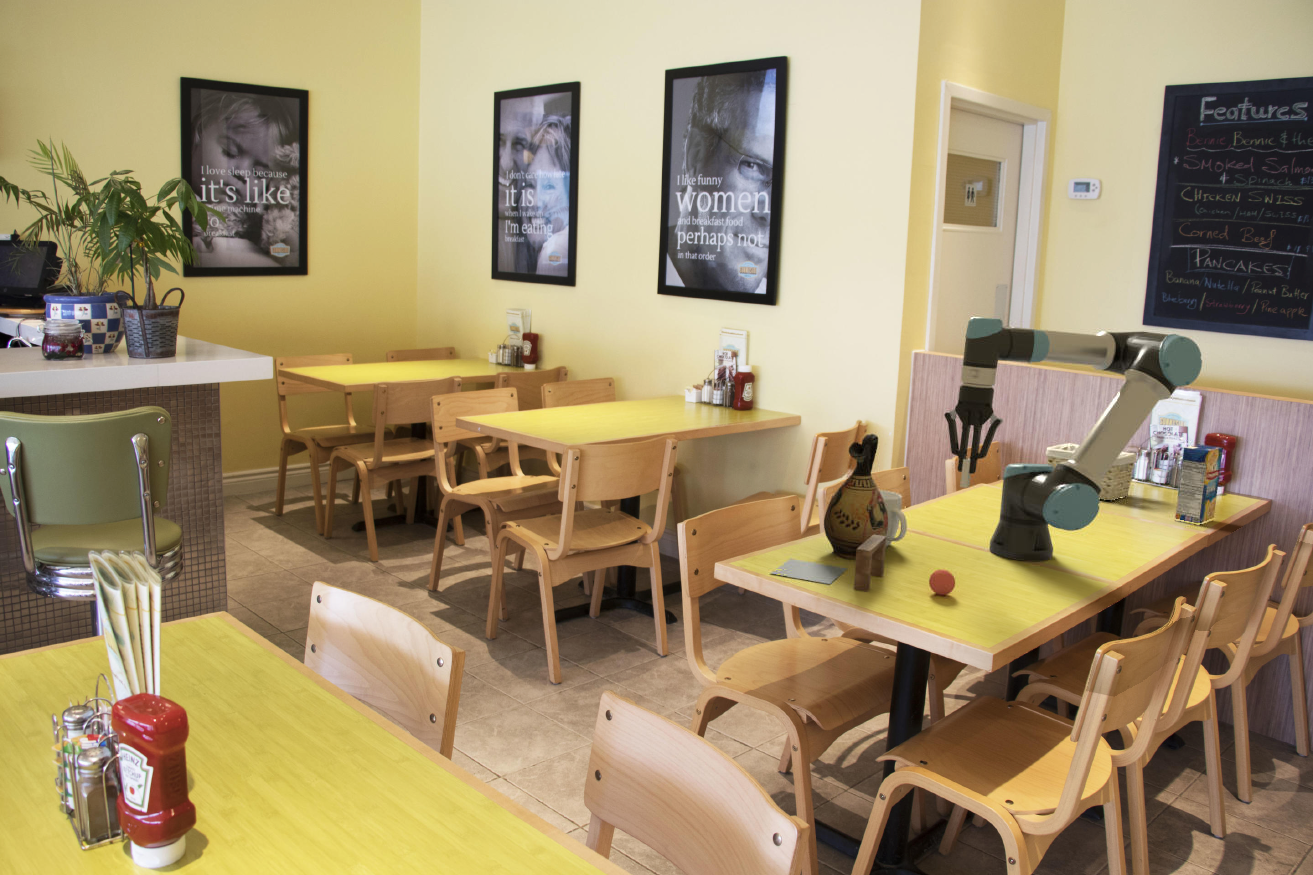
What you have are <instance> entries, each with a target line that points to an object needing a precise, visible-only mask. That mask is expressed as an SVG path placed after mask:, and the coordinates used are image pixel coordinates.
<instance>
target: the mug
mask: <svg viewBox="0 0 1313 875" xmlns="http://www.w3.org/2000/svg"><path fill="white" fill-rule="evenodd" d="M879 492H880V493H881V496H882V498H883V500H884V502H885V505H886V509H887V513H888V530H887V534H886V547H888V546H890V545H891V544H892V542H899V541H901V540H903V539H904V538H905V536H906V534H907V529H908V524H907V522H908V521H907V518H906V516H905V513H904V512H903V511H902V498H903V497H902V495H901V494H900V493H897V492H893V491H889V490H882V489H879ZM899 525H900V526H899ZM899 527H900V530H899V534H898V536H897V537H896V534H897V533H898V529H899Z"/></svg>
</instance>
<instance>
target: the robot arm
mask: <svg viewBox="0 0 1313 875" xmlns="http://www.w3.org/2000/svg"><path fill="white" fill-rule="evenodd" d="M1003 324H1004V323H1003V320H1002V319H1001V318H994V317H993V318H992V317H982V316H981V317H979V316H973V317H971V318H970V319H969V320H968V323H967V328H966V333H965V335H964V336H965V343H964V351H963V360H962V365H961V375H960V382H961V383H962V384H961V385H960V386H959V391H958V399H957V404H956V405H955V407H954V409H952V410H950V411H947V412H945V413H944V418H945V420H946V422H947V425H948V426H947V427H948V433H949V434H948V435H949V441H950V442H949V443H950V450H951V454H952V455H955V456H957V457H958V465H957V471H958V472H959V473H961V476H960V484H959V487H960V488H965V489H967V488H969V487H970V484H971V477H972V476H971V475H972V474H975V473H976V471H977V464H978V460H980V459H984V458H986V457H987V455H988V453H989V449H990V447H991V444H992V442H993V439H994V436H995V434H996V432H997V429H998V428H999V427H1000V425H1002V423H1003V422H1004V421H1003V419H1002V418H1000V417H998V416H997V415H996V414H994V412H995V411H994V409H993V403H994V402H993V400H994V394H995V389H994V387H993V386H995V385H996V377H997V371H998V370H997V369H998V362H999V361H1005V362H1019V363H1029V364H1031V363H1040V362H1051V363H1060V364H1061V363H1063V364H1070V365H1071V364H1073V365H1082V366H1091V367H1092V368H1093V369H1095V370H1097V371H1104V372H1109V373H1113V374H1114V373H1115V374H1119V375H1122V376H1124V377H1125V382H1124V384H1123V385H1122V386H1121V388H1119V390H1118V392H1117V393H1116V395H1114V397H1113V399H1112V400H1110V403H1109V404H1108V406H1106V408H1105V409H1104V411H1103V412H1102V414H1101V415H1100V417H1099V418H1098V419H1097V420H1096V422H1095V423H1094V425H1093V426H1092V427H1091V429H1090V430H1089V432H1087V434H1086V436H1085V437H1084V438H1083V440H1082V441H1081V443H1080V444H1078V445H1079V447H1078V448H1077V449H1076V451H1075V452H1074V453H1073V455H1072V456H1071V457H1070V459H1069V460H1068V461H1065V462H1059V463H1058V464H1057V465H1056V467H1055V468H1054V467H1053V466H1052V465H1047V463H1046V464H1043V463H1022V462H1021V463H1019V462H1018V463H1009V464H1008V465H1006V466H1005V469H1004V472H1003V477H1002V481H1003V482H1002V491H1001V502H1000V513H999V520H998V523H997V525H996V528H995V530H994V532H993V534H992V536H991V538H990V542H989V551H990V552H991V553H993V554H994V555H997V556H1000V557H1004V558H1006V559H1012V560H1019V561H1027V562H1043V561H1048V560H1051V559H1053V554H1054V546H1053V542H1052V538H1051V534H1050V533H1051V532H1050V529H1049V525H1050V526H1051V527H1053V528H1055V529H1060V530H1063V531H1068V532H1069V531H1070V532H1071V531H1073V532H1074V531H1078V530H1081V529H1083V528H1086V527H1088V526H1089V525H1090V524H1092V522H1093V521H1094V520H1095V519H1096V518H1097V516H1098V513H1099V512H1100V505H1099V504H1100V503H1101V502H1100V501H1101V500H1100V499H1099V496H1098V495H1099V494H1100V493H1101V491H1102V487H1101V480H1102V478H1103V477H1104V475H1105V474H1106V473H1107V471H1108V470H1109V469H1110V467H1111V466H1112V464H1113V463H1114V462H1115V460H1116V459H1117V458H1118V456H1119V455H1120V453H1121V452H1124V450H1125V448H1126V447H1127V445H1128V444H1129V443H1130V442H1131V440H1132V438H1133V437H1134V436H1135V434H1136V433H1137V431H1139V429H1140V427H1142V425H1143V423H1144V421H1145V420H1146V419H1147V418H1148V417H1149V415H1150V414H1151V412H1152V411H1153V409H1154V408H1155V407H1156V406H1157V404H1158V403H1159V401H1163V400H1168V399H1170V398H1171V396H1172V395H1173V393H1174V392H1175V391H1176V389H1177V388H1181V387H1186V386H1189V385H1191V384H1192V383H1194V381H1196V380H1197V378H1198V377H1199V375H1200V373H1201V371H1202V367H1203V360H1202V352H1201V350H1200V347H1199V346H1198V345H1197V343H1196V342H1195V341H1194V340H1193V339H1191V338H1190V337H1188V336H1187V337H1186V336H1182V335H1179V334H1176V333H1172V334H1167V333H1159V332H1150V331H1124V332H1123V331H1122V332H1120V331H1119V332H1117V331H1116V332H1111V331H1110V332H1109V331H1101V332H1098V333H1097V334H1089V333H1078V332H1068V331H1060V330H1059V331H1057V330H1049V329H1047V330H1046V329H1037V328H1027V327H1015V326H1005V325H1003ZM957 416H958V418H959V421H960V422H961V435H960V436H961V437H960V444H959V436H958V429H957V428H958V427H957V421H956V419H957ZM988 420H989V424H990V426H989V428H988V430H987V432H986V436H985V438H984V440H983V442H982V446H981V448H980V445H981V444H980V443H981V437H982V436H981V434H982V430H983V425H985V424H986V422H988ZM971 426H972V427H971ZM971 428H972V430H973V431H972V440H971V446H970V447H971V449H970V456H969V457H967V456H968V449H969V448H968V447H969V439H970V432H971Z"/></svg>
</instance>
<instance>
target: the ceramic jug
mask: <svg viewBox="0 0 1313 875" xmlns="http://www.w3.org/2000/svg"><path fill="white" fill-rule="evenodd" d="M878 445H879V437H878V436H877V435H876V434H874V433H871V434H866V435H865V436H864V437H863V438H862V441H861V444H860V442H857V441H856V442H855V441H854V442H853V443H851V444H850V446H849V448H848V454H849V455H850V457H852V458H853V459H854V460H855V461H856V466H855V467H854V469H853V472H852V473H851V474H850V476H848V477H847V478H846V479H845V481H844V482H843V483H842V485H840V487H839V488H838V489H837V490H836V491H835V493H834V495H833V496H832V498H831V499H830V500H829V503H828V506H827V507H826V508H827V509H826V511H825V514H824V517H823V518H824V519H823V529H824V533H825V537H826V538H827V540H828V541H829V543H830V545H831V548H832V552H831V553H832V554H833V555H835V556H836V555H837V556H836V557H838V556H839V557H838V558H841V557H842V558H841V559H850V560H856V551H857V548H858V547H859V546H861V545H862V544H863V543H864V542H865V541H866V540H868V539H869V538H870V537H871V536H872V535H873V534H874V535H881V536H886V534H887V530H888V513H887V509H886V505H885V502H884V500H883V498H882V496H881V493H880V492H879V490H880V489H879V487H878V486H877V483H876V482H875V480H874V479H873V477H872V470H873V465H874V462H875V459H876V454H877V450H878Z"/></svg>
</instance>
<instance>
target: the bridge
mask: <svg viewBox="0 0 1313 875" xmlns="http://www.w3.org/2000/svg"><path fill="white" fill-rule="evenodd" d="M886 548H887V546H886V536H881V535H874V534H873V535H872V536H871V537H870V538H869V539H868V540H866V541H865V542H864V543H863V544H862V545H861V546H859V547H858V548H857V551H856V559H855V567H854V580H853V590H856V591H861V592H869V590H870V587H871V576H872V577H877V576H878V577H879V578H882V577H883V576H884V574H885V573H884V570H885V569H884V568H885V560H886V559H885V558H886V557H885V556H886Z"/></svg>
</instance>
